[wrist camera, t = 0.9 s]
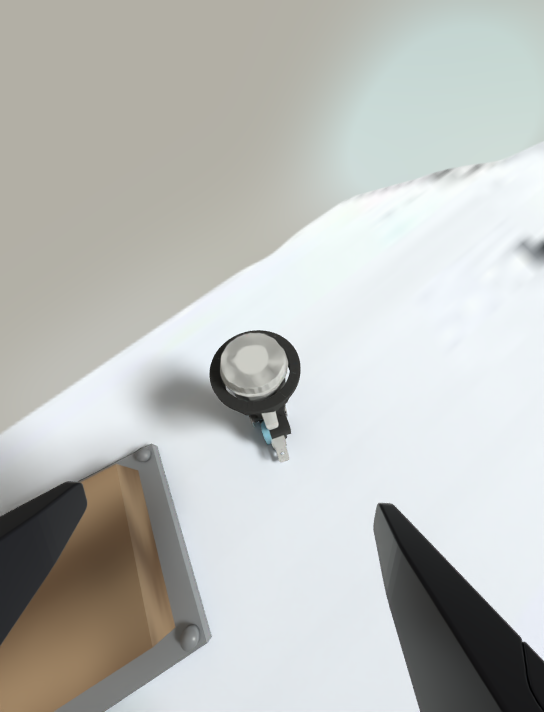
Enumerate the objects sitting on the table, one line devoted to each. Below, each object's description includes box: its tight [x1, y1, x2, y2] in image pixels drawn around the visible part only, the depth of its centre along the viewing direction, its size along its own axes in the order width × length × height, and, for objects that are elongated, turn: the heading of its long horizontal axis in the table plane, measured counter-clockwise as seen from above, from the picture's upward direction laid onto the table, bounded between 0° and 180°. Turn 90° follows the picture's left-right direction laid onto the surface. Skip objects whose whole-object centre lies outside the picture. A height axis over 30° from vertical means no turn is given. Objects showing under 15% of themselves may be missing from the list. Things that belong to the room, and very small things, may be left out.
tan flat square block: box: [0, 464, 175, 712], centre depth 17 cm, size 10×10×3 cm
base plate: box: [54, 444, 212, 712], centre depth 18 cm, size 13×13×2 cm
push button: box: [210, 330, 300, 462], centre depth 19 cm, size 7×5×10 cm
